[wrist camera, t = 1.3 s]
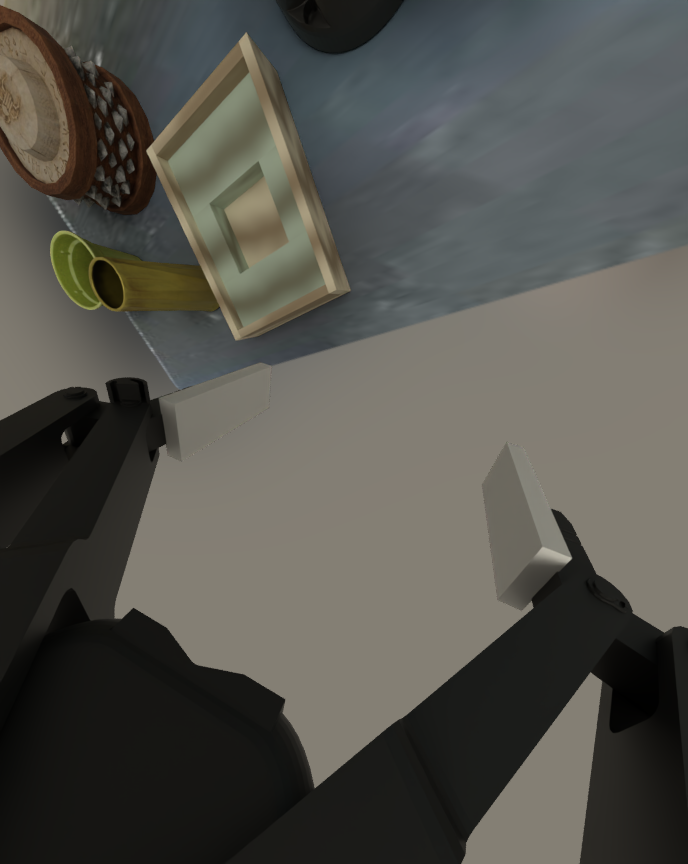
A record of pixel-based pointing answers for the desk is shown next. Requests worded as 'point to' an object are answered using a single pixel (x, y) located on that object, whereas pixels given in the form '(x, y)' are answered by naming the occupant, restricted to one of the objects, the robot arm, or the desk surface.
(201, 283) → the vase
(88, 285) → the plant pot
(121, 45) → the desk surface
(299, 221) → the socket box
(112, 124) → the spiked roller
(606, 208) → the desk surface
